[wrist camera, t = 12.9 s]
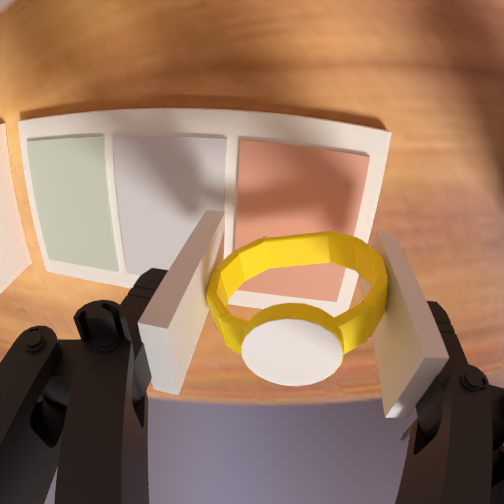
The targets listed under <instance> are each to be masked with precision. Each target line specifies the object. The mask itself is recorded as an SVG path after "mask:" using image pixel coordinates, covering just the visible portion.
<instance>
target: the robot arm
mask: <svg viewBox="0 0 504 504" xmlns="http://www.w3.org/2000/svg"><path fill="white" fill-rule="evenodd" d="M224 239H225V212H224V211H215V210H206V211H205V213H204V214H203V216H202V217H201V219H200V221H199V222H198V224H197V225H196V227H195V228H194V230H193V232H192V233H191V235H190V236H189V238H188V239H187V241H186V243H185V244H184V246H183V247H182V249H181V251H180V252H179V254H178V255H177V257H176V259H175V260H174V262H173V264H172V265H171V267H170V269H169V270H164V269H157V268H151V269H149V270H148V271H146V272H145V273H143V274H142V275H140V277H139V278H138V279H137V281H136V282H135V284H134V285H133V287H132V288H131V290H130V291H129V293H128V296H126V297H125V298H124V300H123V301H122V303H121V304H117V303H115V302H113V301H109V300H98V301H93V302H90V303H88V304H86V305H84V306H83V307H81V308H80V309H79V310H78V311H77V312H76V314H75V316H74V317H73V318H74V321H75V324H76V326H77V329H78V332H79V334H80V337H81V339H78V340H58V339H57V336H56V334H55V333H54V331H53V330H52V329H51V328H49V327H47V326H35V327H31V328H29V329H27V330H25V331H24V332H23V333H22V334H21V335H20V336H19V337H18V338H17V339H16V341H15V342H14V344H13V345H12V346H11V348H10V349H9V351H8V352H7V354H6V355H5V357H4V358H3V360H2V361H1V363H0V504H44V502H45V500H46V497H47V494H48V491H49V488H50V485H51V483H52V480H53V477H54V475H55V472H56V469H57V467H58V470H57V480H56V491H55V504H149V488H148V449H147V447H148V446H147V444H148V440H147V439H148V437H147V436H148V397H147V393H146V390H147V387H148V385H149V383H150V380H151V381H152V384H153V388H154V390H158V391H162V392H166V393H171V394H175V395H179V393H180V390H181V387H182V384H183V381H184V379H185V376H186V373H187V370H188V367H189V364H190V361H191V359H192V356H193V353H194V350H195V347H196V345H197V342H198V339H199V336H200V333H201V331H202V328H203V325H204V322H205V320H206V317H207V314H208V311H209V306H208V303H207V300H206V295H205V294H206V290H207V286H208V284H209V281H210V278H211V275H212V272H213V271H214V269H215V268H216V267H217V266H218V265H219V264H220V263H221V262H222V261H223V260H224ZM373 249H375V250H376V251H377V252H378V253H380V254H381V256H382V257H383V260H384V264H385V268H386V272H387V276H388V286H387V301H386V309H385V313H384V315H383V317H382V319H381V321H380V322H379V324H378V326H377V328H376V329H375V331H374V333H373V335H372V341H373V346H374V351H375V357H376V363H377V368H378V374H379V380H380V387H381V393H382V400H383V407H384V414H385V418H392V417H393V418H394V417H395V418H397V417H408V416H409V414H410V413H411V412H412V411H413V409H414V408H415V407H416V410H417V415H418V418H417V419H416V420H415V421H414V422H413V424H412V425H411V426H410V427H409V428H408V429H407V431H406V432H405V433H404V434H403V436H402V438H401V440H403V441H404V440H405V439H406V438H407V437H408V436H409V435H410V439H409V445H408V450H407V455H406V460H405V465H404V470H403V475H402V479H401V483H400V487H399V491H398V495H397V499H396V503H395V504H504V445H503V444H504V389H503V388H500V387H496V386H492V385H489V383H488V379H487V378H486V376H485V375H484V373H483V372H482V371H480V370H479V369H478V368H477V367H474V366H472V365H469V364H468V362H467V359H466V357H465V354H464V352H463V349H462V347H461V345H460V342H459V340H458V338H457V335H456V334H455V331H454V329H453V326H452V325H451V322H450V320H449V317H448V315H447V313H446V311H445V310H444V309H443V308H442V307H441V306H440V305H439V304H438V303H437V302H433V301H426V299H425V296H424V294H423V292H422V290H421V288H420V285H419V283H418V281H417V279H416V277H415V275H414V273H413V270H412V268H411V266H410V264H409V262H408V260H407V258H406V256H405V254H404V252H403V250H402V248H401V246H400V244H399V242H398V240H397V238H396V236H395V235H394V234H392V233H385V232H379V231H377V233H376V237H375V240H374V244H373ZM371 287H372V286H371V285H370V284H369V283H368V282H367V281H366V280H365V279H363V282H362V286H361V289H362V293H363V298H365V296H366V295H367V293H368V292H369V290H370V288H371Z"/></svg>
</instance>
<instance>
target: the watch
mask: <svg viewBox="0 0 504 504" xmlns="http://www.w3.org/2000/svg"><path fill="white" fill-rule="evenodd" d="M329 262H331V263H334V264H337V265H340V266H343V267H346V268H349V269H351V270H354V271H356V272H357V273H358V274H359V275H360V276H361V277H362V278H363V279H365V280H366V281H367V282H368V283H369V284H370V285H371V286H372V287H371V288H370V290H369V292H368V293H367V295H366V296H365V298H364V299H363V301H362V302H361V303H360V304H358V305H356V306H355V307H353V308H351V309H349V310H347V311H345V312H344V313H342V314H340V315H338V316H336V317H333V316H331V315H330V314H328V313H327V312H325V311H324V310H322V309H320V308H318V307H314V306H311V305H308V304H304V303H282V304H277V305H272V306H269V307H267V308H265V309H263V310H261V311H259V312H258V313H257V314H256V315H255V316H254V317H253V318H251V319H250V321H247V320H244V319H242V318H239V317H237V316H234V315H232V314H230V313H229V312H228V310H227V305H228V300H229V298H230V297H231V296H232V295H233V294H234V292H235V291H236V290H237V289H238V288H239V287H240V286H241V285H242V284H243V282H244V281H246V280H248V279H250V278H252V277H254V276H256V275H258V274H260V273H262V272H264V271H265V270H267V269H269V268H279V267H290V266H300V265H310V264H320V263H329ZM387 286H388V276H387V272H386V268H385V264H384V260H383V257H382V256H381V254H380V253H378V252H377V251H376V250H375V249H373V248H372V247H371V246H369V245H368V244H367V243H365V242H364V241H363V240H361V239H358V238H357V237H354V236H351V235H347V234H343V233H339V232H336V231H332V230H331V231H325V232H316V233H307V234H297V235H288V236H279V237H270V238H267V236H263V239H262V238H259V239H257V240H255V241H253V242H251V243H249V244H247V245H245V246H242V247H240V248H238V249H236V250H235V252H232V253H231V254H230V255H228V256H227V257H226V258H225V259H224V260H223V261H222V262H221V263H220V264H219V265H218V266H217V267H216V268H215V269H214V271H213V272H212V275H211V278H210V281H209V284H208V286H207V290H206V294H205V295H206V300H207V303H208V306H209V309H210V312H211V315H212V318H213V321H214V324H215V326H216V328H217V330H218V331H219V333H220V335H221V336H222V338H223V340H224V342H225V343H226V345H227V347H230V348H231V350H232V351H235V352H237V353H239V354H241V355H242V358H243V359H244V361H245V363H246V365H247V367H248V368H249V369H251V370H252V371H253V372H254V373H255V374H256V375H258V376H259V377H261V378H263V379H265V380H267V381H269V382H273V383H277V384H280V385H288V386H301V385H310V384H313V383H316V382H319V381H322V380H324V379H326V378H327V377H329V376H330V375H332V374H333V373H334V372H335V371H336V370H337V369H338V367H339V366H340V365H341V363H342V361H343V357H344V354H346V353H347V352H349V351H351V350H352V349H354V348H356V347H357V346H359V345H361V344H362V343H364V342H366V341H367V339H368V338H369V337H371V336H372V335H373V333H374V331H375V329H376V328H377V326H378V324H379V322H380V321H381V319H382V317H383V315H384V313H385V309H386V301H387Z"/></svg>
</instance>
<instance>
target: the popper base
mask: <svg viewBox="0 0 504 504" xmlns="http://www.w3.org/2000/svg"><path fill="white" fill-rule="evenodd" d="M31 263H32V260H31V257H30V253H29V250H28V246H27V243H26V239H25V235H24V231H23V227H22V223H21V219H20V215H19V210H18V205H17V201H16V196H15V191H14V185H13V180H12V174H11V167H10V161H9V153H8V145H7V136H6V126H5V123H2V124H0V294H1V293H2V292H3V291H4V289H5V288H6V287H7V286H8V285H9V284H10V283H11V282H12V281H13V280H14V279H15V278H16V277H18V276H19V275H20V274H21V273H22V272H23V271H24V270H25V269H26V268H27V267H28V266H29V265H30V264H31Z"/></svg>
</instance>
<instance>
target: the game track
mask: <svg viewBox="0 0 504 504" xmlns="http://www.w3.org/2000/svg"><path fill="white" fill-rule="evenodd" d="M18 125H19V136H20V145H21V154H22V161H23V168H24V175H25V181H26V187H27V192H28V198H29V203H30V208H31V212H32V217H33V222H34V226H35V230H36V234H37V238H38V242H39V246H40V250H41V254H42V257H43V261H44V264H45V268H46V271H47V272H52V273H57V274H61V275H66V276H71V277H75V278H80V279H85V280H90V281H95V282H100V283H105V284H111V285H116V286H121V287H127V288H132V287H133V285H134V284H135V282H136V281H137V279H138V278H139V277H140V275H142V274H143V273H145V272H146V271H148V270H149V269H151V268H157V269H164V270H169V269H170V267H171V265H172V264H173V262H174V260H175V259H176V257H177V255H178V254H179V252H180V251H181V249H182V247H183V246H184V244H185V243H186V241H187V239H188V238H189V236H190V235H191V233H192V232H193V230H194V228H195V227H196V225H197V224H198V222H199V221H200V219H201V217H202V216H203V214H204V213H205V211H206V210H215V211H224V212H225V239H224V259H225V258H226V257H227V256H228V255H230V254H231V253H232V252H235V250H236V249H238V248H240V247H242V246H245V245H247V244H249V243H251V242H253V241H255V240H257V239H259V238H262V239H263V236H267V238H270V237H279V236H288V235H297V234H307V233H316V232H325V231H331V230H332V231H336V232H339V233H343V234H347V235H351V236H354V237H357V238H358V239H361V240H363V241H364V242H365V243H367V244H368V240H369V236H370V232H371V228H372V224H373V220H374V216H375V211H376V207H377V203H378V198H379V194H380V189H381V185H382V180H383V175H384V170H385V165H386V160H387V155H388V150H389V144H390V138H391V132H390V131H388V130H384V129H379V128H374V127H369V126H364V125H358V124H353V123H347V122H341V121H335V120H328V119H321V118H314V117H307V116H299V115H290V114H281V113H271V112H260V111H248V110H232V109H211V108H135V109H114V110H100V111H87V112H77V113H67V114H59V115H51V116H44V117H37V118H30V119H25V120H21V121H18ZM358 276H359V274H358V273H357V272H356V271H354V270H351V269H349V268H346V267H343V266H340V265H337V264H334V263H331V262H329V263H320V264H310V265H300V266H290V267H279V268H269V269H267V270H265V271H264V272H262V273H260V274H258V275H256V276H254V277H252V278H250V279H248V280H246V281H244V282H243V284H242V285H241V286H240V287H239V288H238V289H237V290H236V291H235V292H234V294H233V295H232V296H231V297H230V298H229V300H228V304H231V305H238V306H246V307H253V308H261V309H265V308H267V307H269V306H272V305H277V304H282V303H304V304H308V305H311V306H314V307H318V308H320V309H322V310H324V311H325V312H327V313H328V314H330V315H331V316H333V317H336V316H338V315H340V314H342V313H344V312H345V311H347V310H348V309H349V306H350V303H351V299H352V296H353V293H354V290H355V286H356V283H357V280H358Z"/></svg>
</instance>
